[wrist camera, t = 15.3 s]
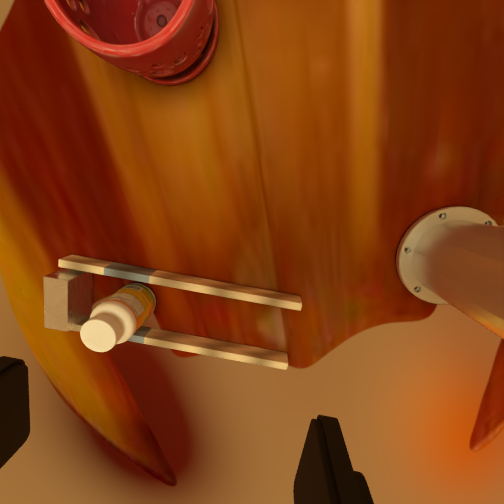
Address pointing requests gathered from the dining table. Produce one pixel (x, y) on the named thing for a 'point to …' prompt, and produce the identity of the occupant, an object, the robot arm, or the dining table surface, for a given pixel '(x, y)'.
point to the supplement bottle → (118, 317)
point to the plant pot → (145, 34)
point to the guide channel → (80, 307)
